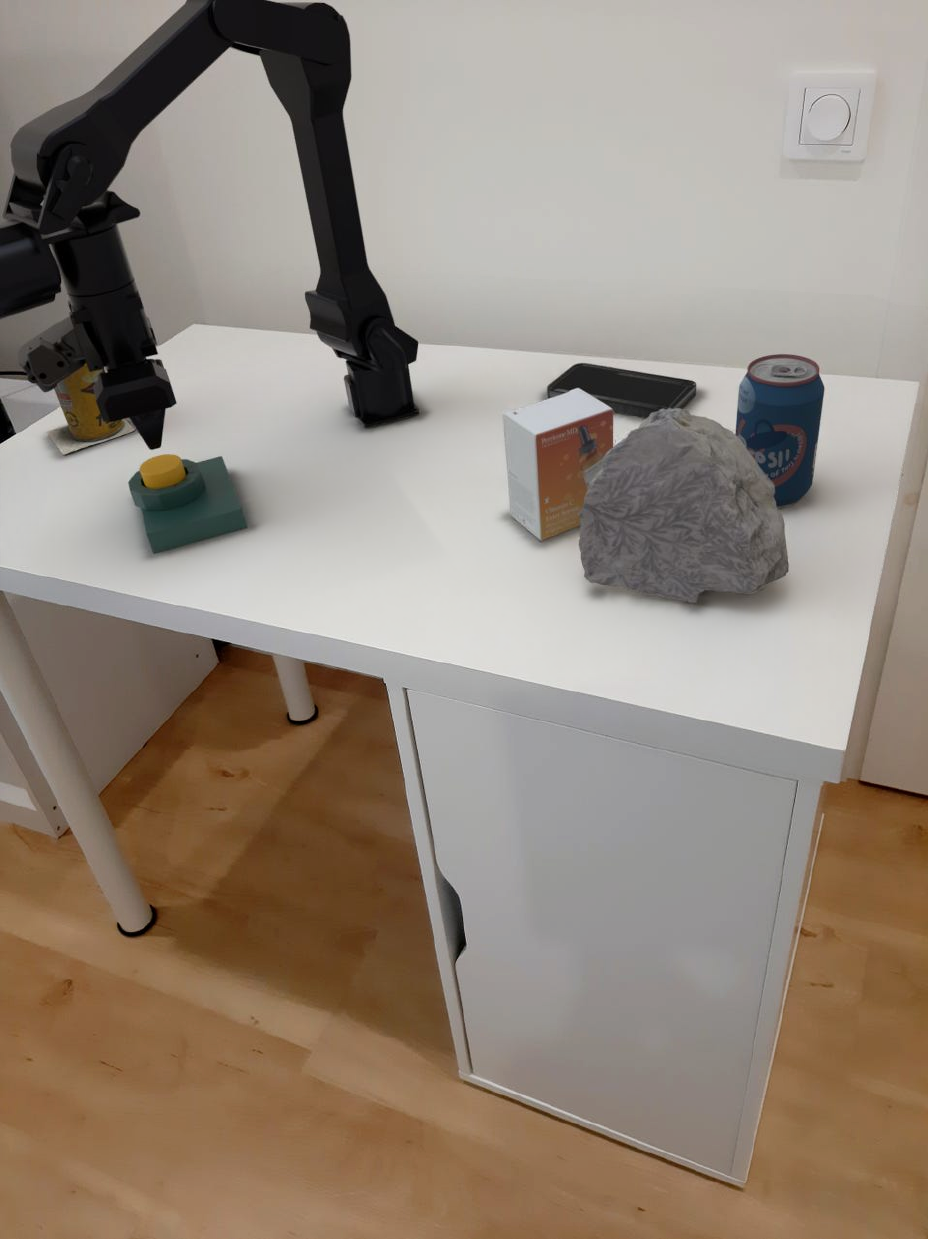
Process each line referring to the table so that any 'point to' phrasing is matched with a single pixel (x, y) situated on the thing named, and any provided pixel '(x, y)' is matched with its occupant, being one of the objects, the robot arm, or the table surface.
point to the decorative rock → (682, 513)
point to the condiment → (83, 414)
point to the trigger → (162, 471)
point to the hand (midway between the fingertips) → (155, 447)
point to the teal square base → (189, 506)
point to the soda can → (782, 421)
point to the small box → (554, 459)
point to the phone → (625, 388)
